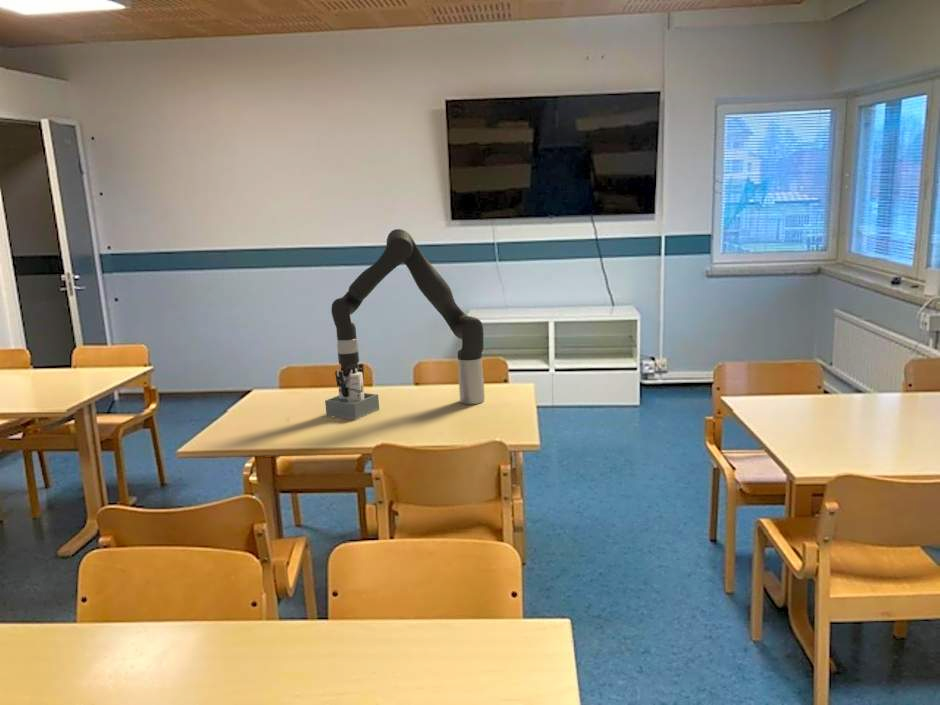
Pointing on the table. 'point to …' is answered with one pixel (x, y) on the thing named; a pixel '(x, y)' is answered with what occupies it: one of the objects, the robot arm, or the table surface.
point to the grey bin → (352, 407)
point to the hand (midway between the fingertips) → (351, 394)
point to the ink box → (353, 389)
